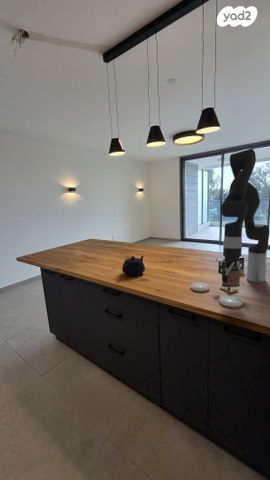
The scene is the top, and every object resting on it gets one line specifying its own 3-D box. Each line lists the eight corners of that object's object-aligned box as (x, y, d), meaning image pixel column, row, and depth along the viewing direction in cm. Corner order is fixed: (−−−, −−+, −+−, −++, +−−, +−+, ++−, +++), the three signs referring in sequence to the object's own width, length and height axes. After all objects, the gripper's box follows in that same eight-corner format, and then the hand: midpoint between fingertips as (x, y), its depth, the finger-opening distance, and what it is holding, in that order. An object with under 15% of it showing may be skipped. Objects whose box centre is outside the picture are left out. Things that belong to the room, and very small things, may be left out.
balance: (219, 284, 122) (219, 258, 119) (247, 295, 106) (248, 265, 104) (212, 286, 120) (213, 259, 117) (240, 297, 104) (241, 267, 101)
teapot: (133, 281, 132) (132, 262, 130) (114, 277, 141) (113, 259, 139) (153, 269, 153) (152, 253, 150) (135, 266, 161) (134, 251, 159)
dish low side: (228, 296, 106) (228, 293, 106) (247, 304, 97) (247, 301, 97) (214, 301, 102) (214, 298, 101) (232, 310, 93) (232, 307, 93)
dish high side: (200, 283, 124) (200, 281, 123) (213, 289, 115) (213, 287, 115) (186, 287, 119) (186, 284, 119) (199, 293, 111) (199, 291, 110)
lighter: (237, 284, 100) (238, 263, 98) (241, 286, 96) (242, 265, 95) (220, 284, 100) (221, 264, 98) (223, 287, 96) (224, 266, 95)
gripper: (236, 242, 101) (234, 275, 104) (214, 246, 95) (213, 281, 98) (250, 245, 95) (248, 280, 97) (228, 249, 88) (226, 286, 91)
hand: (230, 280), depth 98 cm, fingers closed on lighter, 7 cm apart
